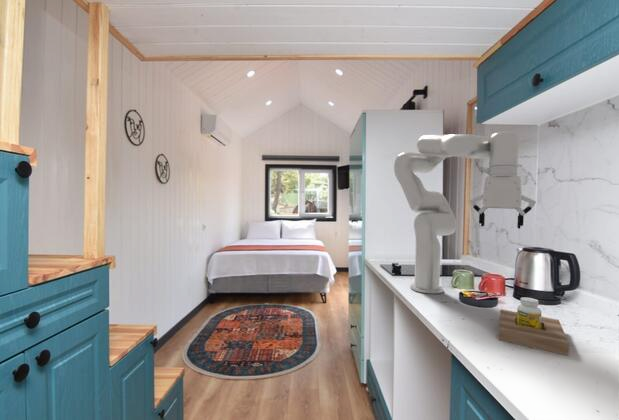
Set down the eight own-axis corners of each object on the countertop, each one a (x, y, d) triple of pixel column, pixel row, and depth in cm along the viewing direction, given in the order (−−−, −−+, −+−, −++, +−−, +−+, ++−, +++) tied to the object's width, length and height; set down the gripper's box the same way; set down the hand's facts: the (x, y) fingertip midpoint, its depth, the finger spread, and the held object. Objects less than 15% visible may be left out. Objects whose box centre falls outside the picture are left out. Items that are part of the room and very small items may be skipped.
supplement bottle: (542, 335, 84) (544, 299, 83) (538, 340, 80) (539, 303, 80) (519, 328, 87) (520, 295, 87) (514, 333, 84) (515, 298, 84)
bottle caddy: (500, 318, 95) (500, 309, 95) (558, 330, 87) (558, 319, 87) (498, 339, 80) (498, 328, 80) (568, 355, 72) (569, 342, 72)
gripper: (470, 172, 98) (468, 225, 98) (538, 170, 88) (535, 230, 89) (472, 174, 104) (470, 224, 104) (536, 172, 94) (533, 228, 95)
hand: (500, 227), depth 96 cm, fingers open, 9 cm apart
